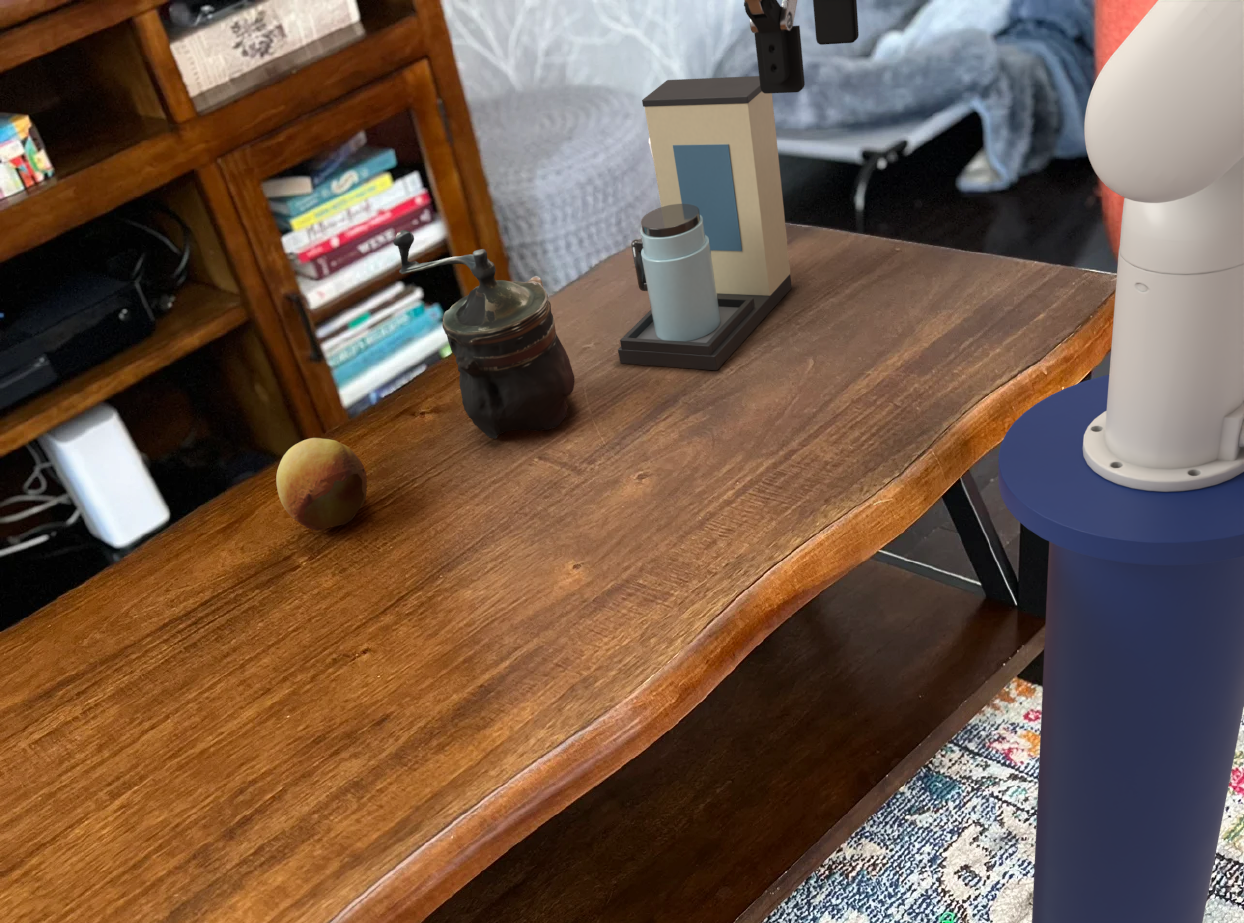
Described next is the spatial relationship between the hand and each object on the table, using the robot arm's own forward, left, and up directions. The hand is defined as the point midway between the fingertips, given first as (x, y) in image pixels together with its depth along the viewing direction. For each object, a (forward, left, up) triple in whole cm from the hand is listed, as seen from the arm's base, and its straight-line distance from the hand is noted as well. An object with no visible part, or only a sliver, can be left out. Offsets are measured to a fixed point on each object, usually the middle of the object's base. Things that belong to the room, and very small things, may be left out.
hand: (811, 66), depth 94 cm
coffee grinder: (+32, +6, -28) cm, 43 cm away
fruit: (+39, +25, -28) cm, 54 cm away
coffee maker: (+21, -16, -28) cm, 39 cm away
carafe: (+21, -12, -27) cm, 36 cm away
